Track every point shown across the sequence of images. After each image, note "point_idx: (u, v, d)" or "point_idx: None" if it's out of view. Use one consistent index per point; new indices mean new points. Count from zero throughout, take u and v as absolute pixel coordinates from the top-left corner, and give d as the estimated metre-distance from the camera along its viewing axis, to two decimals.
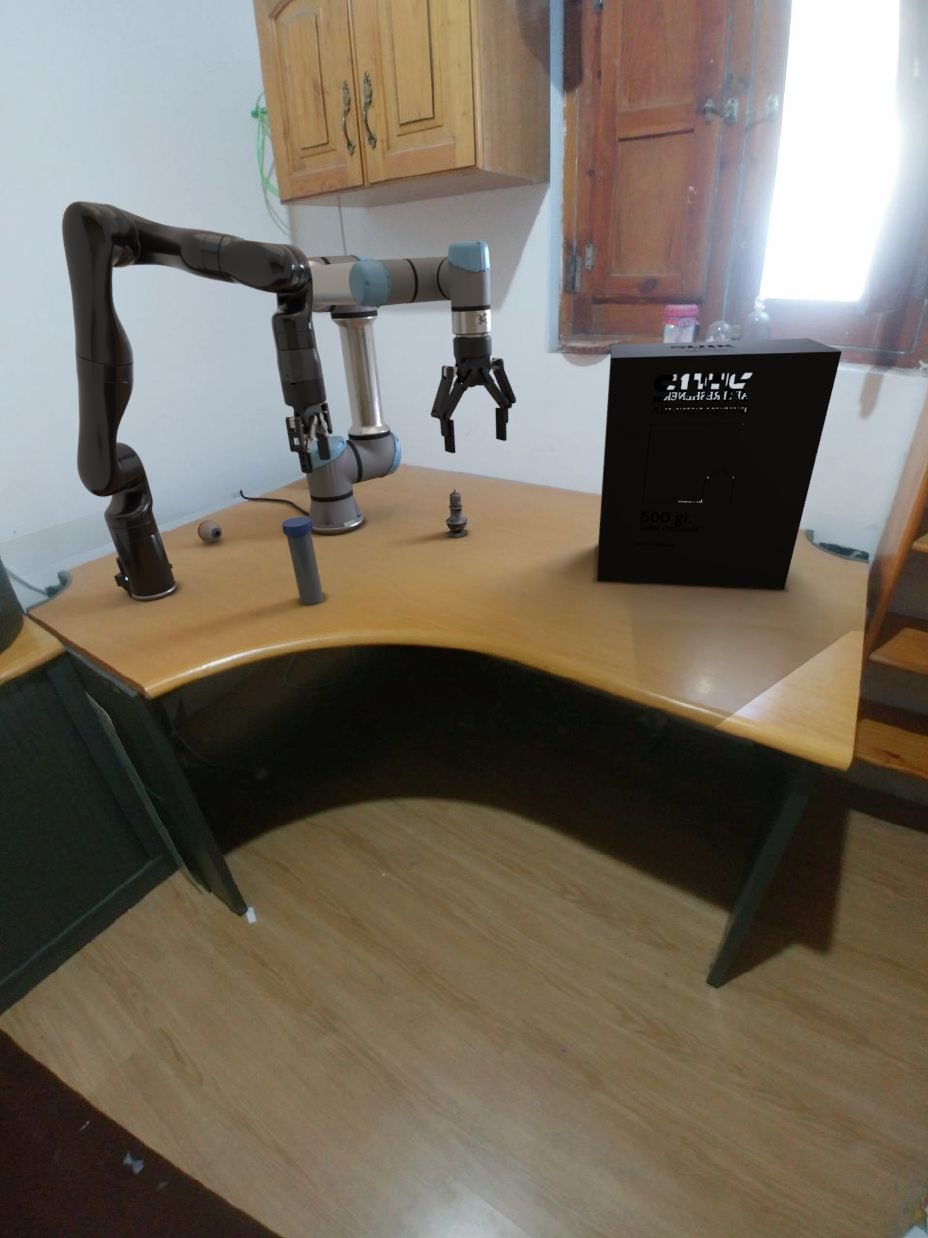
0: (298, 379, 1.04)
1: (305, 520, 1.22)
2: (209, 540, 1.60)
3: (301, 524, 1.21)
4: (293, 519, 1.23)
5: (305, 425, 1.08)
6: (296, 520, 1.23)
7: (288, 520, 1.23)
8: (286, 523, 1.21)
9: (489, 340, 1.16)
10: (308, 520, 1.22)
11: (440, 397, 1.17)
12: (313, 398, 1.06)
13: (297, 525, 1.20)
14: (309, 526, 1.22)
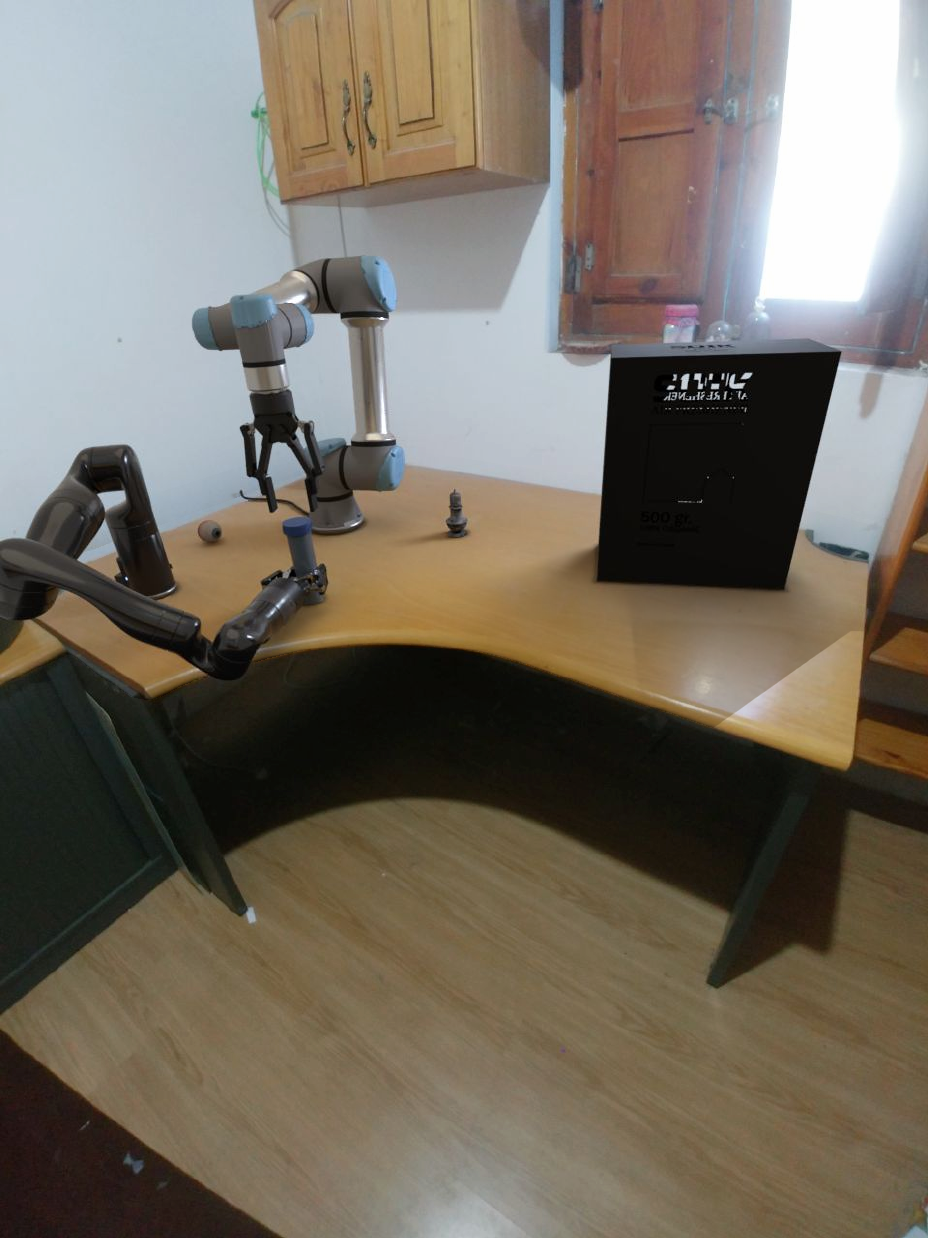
0: (293, 600, 1.15)
1: (305, 520, 1.22)
2: (209, 540, 1.60)
3: (301, 524, 1.21)
4: (293, 519, 1.23)
5: (309, 583, 1.21)
6: (296, 520, 1.23)
7: (288, 520, 1.23)
8: (286, 523, 1.21)
9: None
10: (308, 520, 1.22)
11: (319, 453, 1.15)
12: (293, 583, 1.17)
13: (297, 525, 1.20)
14: (309, 526, 1.22)
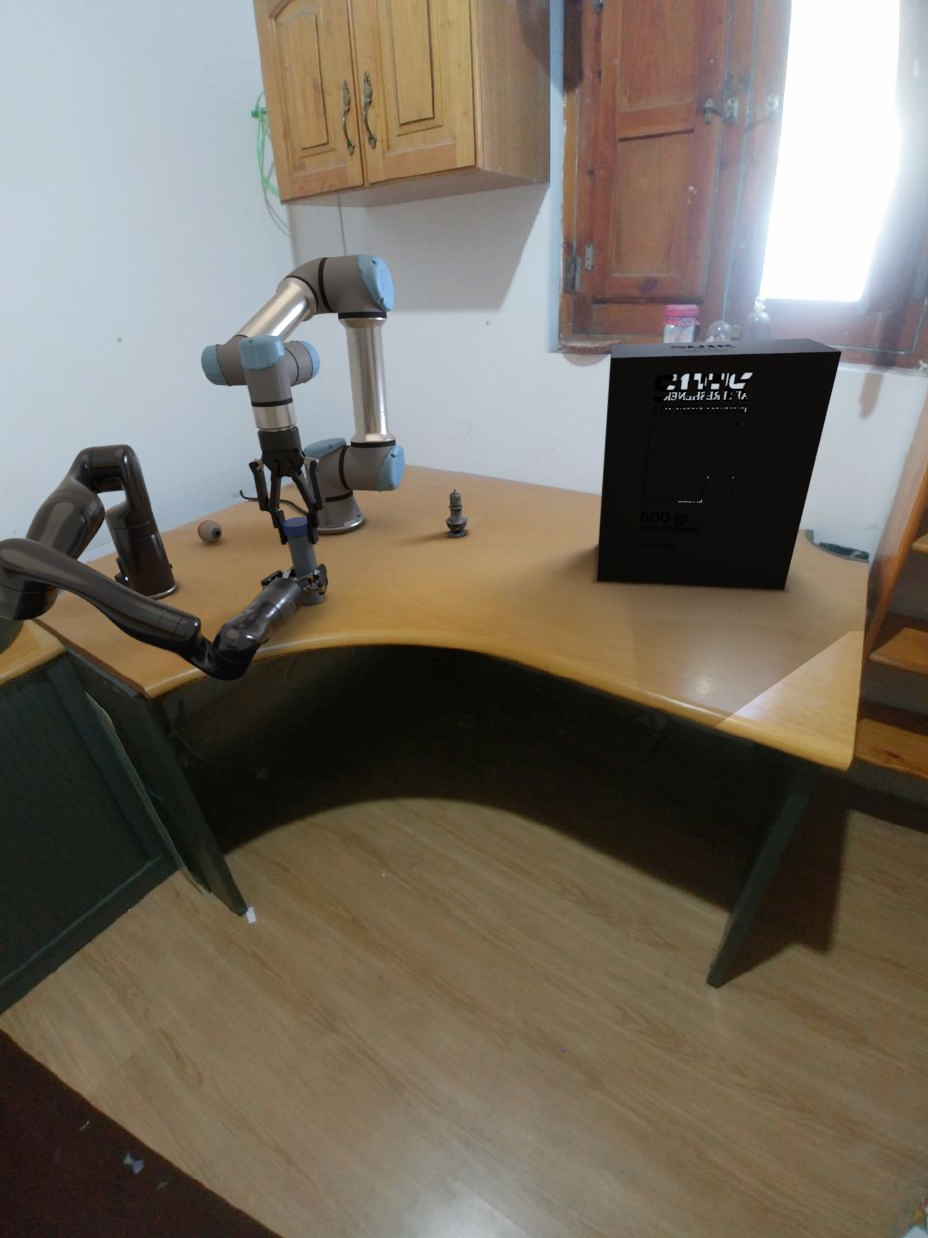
0: (293, 600, 1.15)
1: (305, 520, 1.22)
2: (209, 540, 1.60)
3: (301, 524, 1.21)
4: (293, 519, 1.23)
5: (309, 583, 1.21)
6: (296, 520, 1.23)
7: (288, 520, 1.23)
8: (286, 523, 1.21)
9: None
10: None
11: (321, 488, 1.19)
12: (293, 584, 1.17)
13: (297, 525, 1.20)
14: None
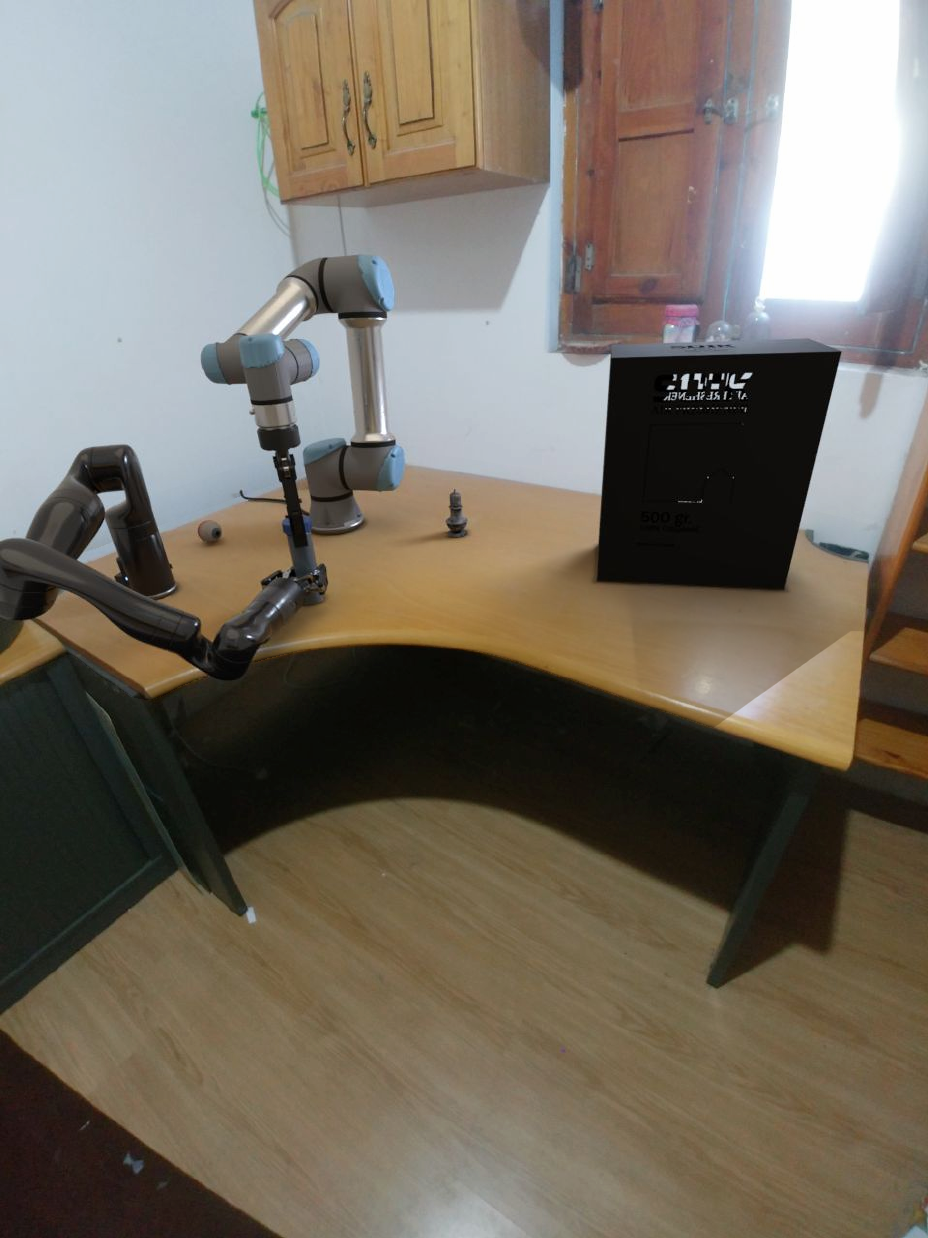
0: (292, 600, 1.15)
1: None
2: (209, 540, 1.60)
3: (303, 516, 1.24)
4: (289, 523, 1.21)
5: (309, 583, 1.21)
6: None
7: None
8: None
9: (259, 434, 1.11)
10: None
11: None
12: (293, 584, 1.17)
13: (306, 517, 1.23)
14: None
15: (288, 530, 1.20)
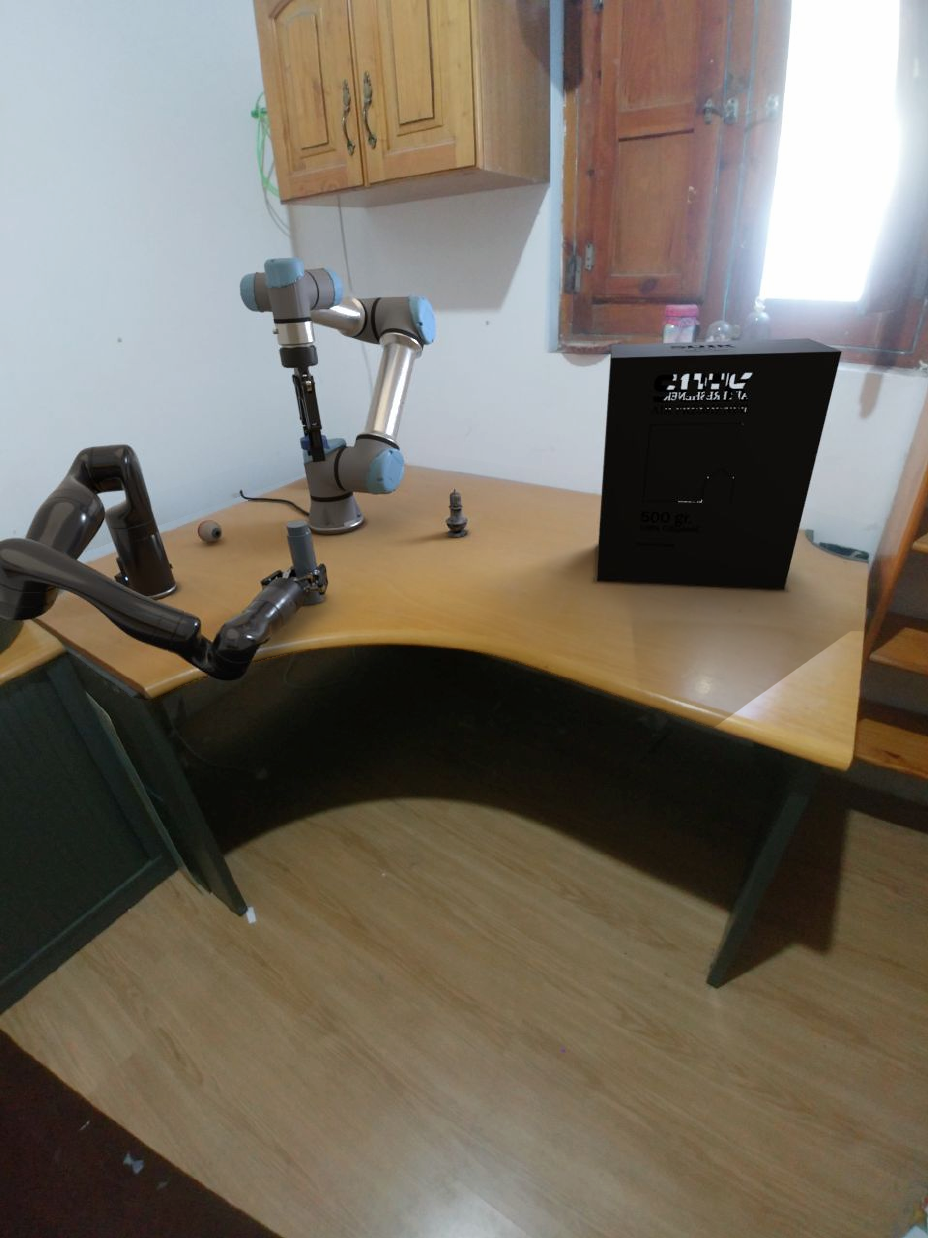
0: (292, 600, 1.15)
1: None
2: (209, 540, 1.60)
3: None
4: (307, 439, 1.32)
5: (309, 583, 1.21)
6: None
7: None
8: None
9: (282, 352, 1.22)
10: None
11: None
12: (293, 584, 1.17)
13: None
14: None
15: (306, 446, 1.32)
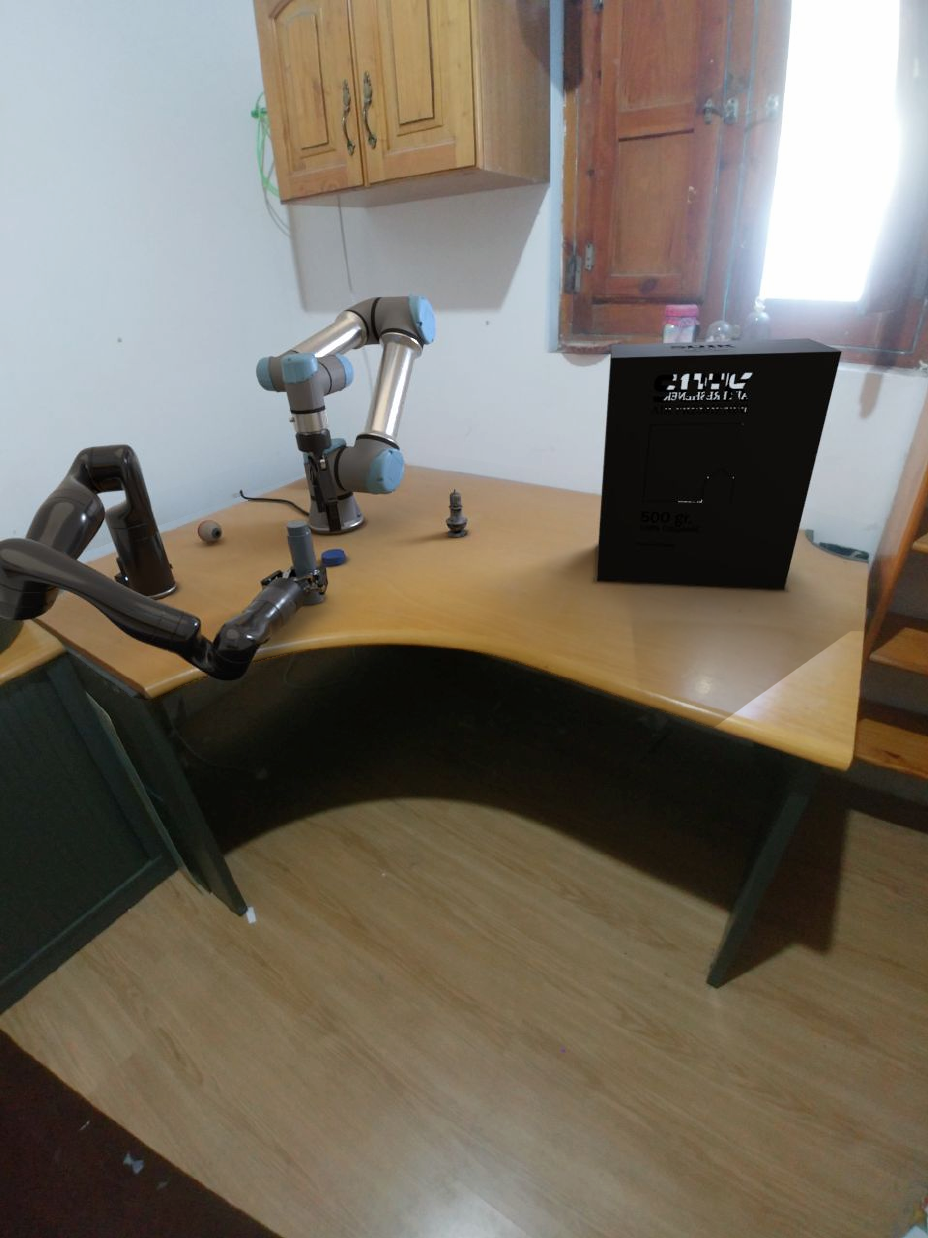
0: (292, 600, 1.15)
1: (328, 551, 1.48)
2: (209, 540, 1.60)
3: (337, 549, 1.49)
4: (328, 556, 1.46)
5: (309, 583, 1.21)
6: (330, 554, 1.47)
7: (331, 556, 1.45)
8: (337, 555, 1.46)
9: (298, 439, 1.31)
10: (328, 550, 1.49)
11: None
12: (293, 584, 1.17)
13: (340, 550, 1.48)
14: None
15: (327, 562, 1.45)
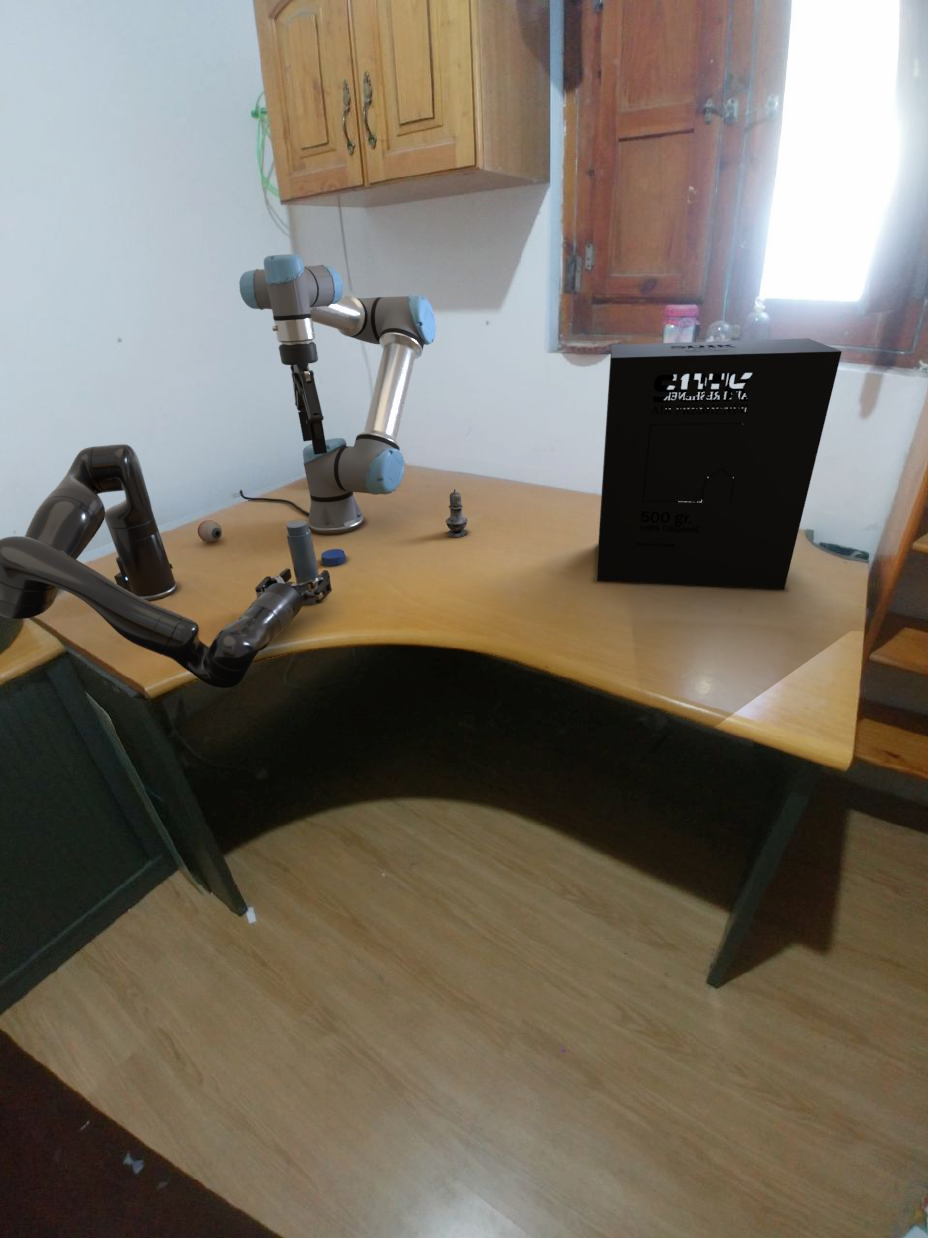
0: (290, 606, 1.13)
1: (328, 551, 1.48)
2: (209, 540, 1.60)
3: (337, 549, 1.49)
4: (328, 556, 1.46)
5: None
6: (330, 554, 1.47)
7: (331, 556, 1.45)
8: (337, 555, 1.46)
9: (282, 349, 1.22)
10: (328, 550, 1.49)
11: None
12: (291, 589, 1.16)
13: (340, 550, 1.48)
14: None
15: (327, 562, 1.45)
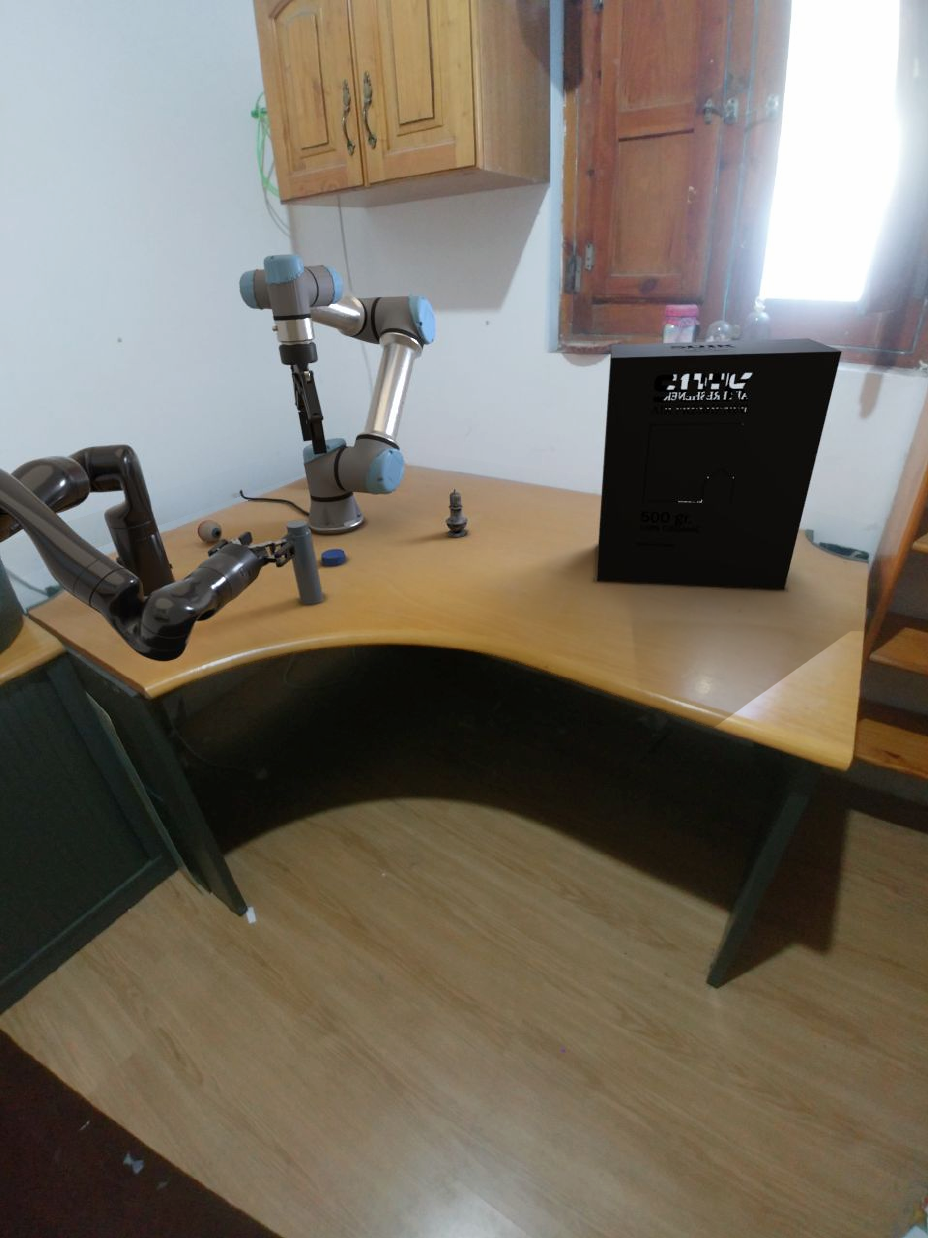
0: (245, 569, 0.98)
1: (328, 551, 1.48)
2: (209, 540, 1.60)
3: (337, 549, 1.49)
4: (328, 556, 1.46)
5: (266, 551, 1.04)
6: (330, 554, 1.47)
7: (331, 556, 1.45)
8: (337, 555, 1.46)
9: (282, 349, 1.22)
10: (328, 550, 1.49)
11: None
12: (246, 550, 1.00)
13: (340, 550, 1.48)
14: None
15: (327, 562, 1.45)
